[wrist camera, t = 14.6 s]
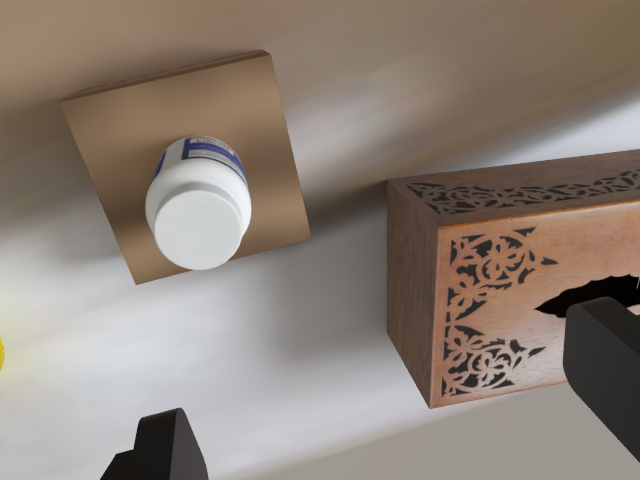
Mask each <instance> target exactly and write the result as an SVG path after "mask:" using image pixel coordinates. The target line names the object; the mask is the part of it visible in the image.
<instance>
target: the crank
mask: <svg viewBox="0 0 640 480" xmlns="http://www.w3.org/2000/svg"><path fill="white" fill-rule="evenodd" d="M3 362H4V347H3V343H2V340H1V338H0V370H1V368H2V366H3Z"/></svg>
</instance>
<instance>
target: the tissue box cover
mask: <svg viewBox="0 0 640 480" xmlns="http://www.w3.org/2000/svg"><path fill="white" fill-rule="evenodd" d="M639 277H640V149H637V150H629V151H621V152H612V153H604V154H596V155H587V156H579V157H571V158H562V159H554V160H545V161H537V162H529V163H520V164H512V165H504V166H495V167H487V168H479V169H470V170H462V171H453V172H445V173H437V174H428V175H420V176H412V177H403V178H395V179H387V333H388V335H389V337H390V339H391V341H392V342H393V344H394V346H395V348H396V350H397V351H398V353H399V355H400V357H401V359H402V360H403V362H404V364H405V366H406V368H407V369H408V371H409V373H410V375H411V377H412V378H413V380H414V382H415V384H416V386H417V388H418V389H419V391H420V393H421V395H422V397H423V398H424V400H425V402H426V404H427V406H428V407H429V409H432V408H438V407H443V406H448V405H453V404H458V403H463V402H468V401H473V400H478V399H483V398H488V397H493V396H498V395H503V394H508V393H513V392H519V391H524V390H529V389H534V388H539V387H544V386H549V385H554V384H559V383H564V382H568V380H567V378H566V376H565V373H564V369H563V349H564V336H565V323H566V313H567V310H568V308H569V307H570V306H572V305H575V304H579V303H582V302H586V301H590V300H594V299H598V298H601V297H611V298H613V299H615V300H617V301H618V302H619V303H621V304H622V305H623V306H625V307H626V308H627V309H629V310H630V311H631V312H633V313H634V314H635V315H639V314H640V279H639ZM638 281H639V283H638ZM637 285H638V287H637Z"/></svg>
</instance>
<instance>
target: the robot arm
mask: <svg viewBox="0 0 640 480" xmlns="http://www.w3.org/2000/svg"><path fill="white" fill-rule="evenodd" d="M563 369H564V373H565V376H566V378H567V380H568V382H569V384H570V386H571V387H572V389H573V390H574V392H575V393H576V394H577V395H578V396H579V397H580V398H581V399H582V400H583V401H584V403H585V404H586V405H587V406H588V407H589V408H590V409H591V410H592V411H593V412H594V413H595V415H596V416H597V417H598V418H599V419H600V420H601V421H602V422H603V423H604V424H605V425H606V427H607V428H608V429H609V430H610V431H611V432H612V433H613V434H614V435H615V436H616V437H617V439H618V440H619V441H620V442H621V443H622V444H623V445H624V446H625V447H626V448H627V449H628V450H629V452H630V453H631V454H632V455H633V456H634V457H635V458H636V459H637V460H638V461H639V462H640V314H639V315H635V314H634V313H633V312H631V311H630V310H629V309H627V308H626V307H625V306H623V305H622V304H621V303H619V302H618V301H617V300H615V299H613V298H611V297H601V298H598V299H594V300H590V301H586V302H582V303H579V304H575V305H572V306H570V307H569V308H568V310H567V313H566V323H565V336H564V349H563ZM100 480H209V479H208V473H207V468H206V464H205V461H204V458H203V455H202V453H201V451H200V448H199V446H198V443H197V441H196V438H195V436H194V434H193V431H192V429H191V426H190V424H189V421H188V419H187V417H186V414H185V412H184V410H183V409H182V408H176V409H173V410H169V411H165V412H161V413H157V414H154V415H150V416H146V417H142V418H141V419H140V421H139V423H138V428H137V433H136V438H135V444H134V449H133V450H129V451H125V452H122V453H118V454H116V455H115V457H114V458H113V460H112V462H111V463H110V465H109V466H108V468H107V469H106V471H105V473H104V474H103V476H102V477H101V479H100Z"/></svg>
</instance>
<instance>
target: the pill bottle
mask: <svg viewBox="0 0 640 480" xmlns="http://www.w3.org/2000/svg"><path fill="white" fill-rule="evenodd" d="M145 211H146V218H147V221H148V224H149V227H150V229H151V231H152V232H153V234H154V238H155V241H156V244H157V246H158V248H159V249H160V251H161V252H162V254H163V255H164V256H165V257H166V258H167V259H169V260H170V261H171V262H173V263H174V264H176V265H178V266H181V267H183V268H187V269H192V270H206V269H211V268H214V267H217V266H219V265H221V264H223V263H224V262H226V261H227V260H229V259H230V258H231V257H232V256H233V255H234V253H235V252H236V251H237V249H238V247H239V245H240V242H241V239H242V237H243V235H244V234H245V232H246V230H247V228H248V225H249V223H250V219H251V199H250V194H249V190H248V185H247V181H246V177H245V173H244V169H243V166H242V163H241V161H240V159H239V157H238V156H237V154H236V153H235V152H234V151H233V150H232V149H231V148H230V147H229V146H228V145H227V144H225V143H224V142H222V141H220V140H218V139H215V138H212V137H209V136H201V135H198V136H190V137H186V138H183V139H180V140H178V141H176V142H174V143H173V144H171V145H170V146H169V147H168V148H167V149H166V150H165V151H164V153H163V154H162V156H161V157H160V159H159V161H158V163H157V166H156V169H155V172H154V175H153V177H152V180H151V183H150V186H149V189H148V192H147V196H146V203H145Z"/></svg>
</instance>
